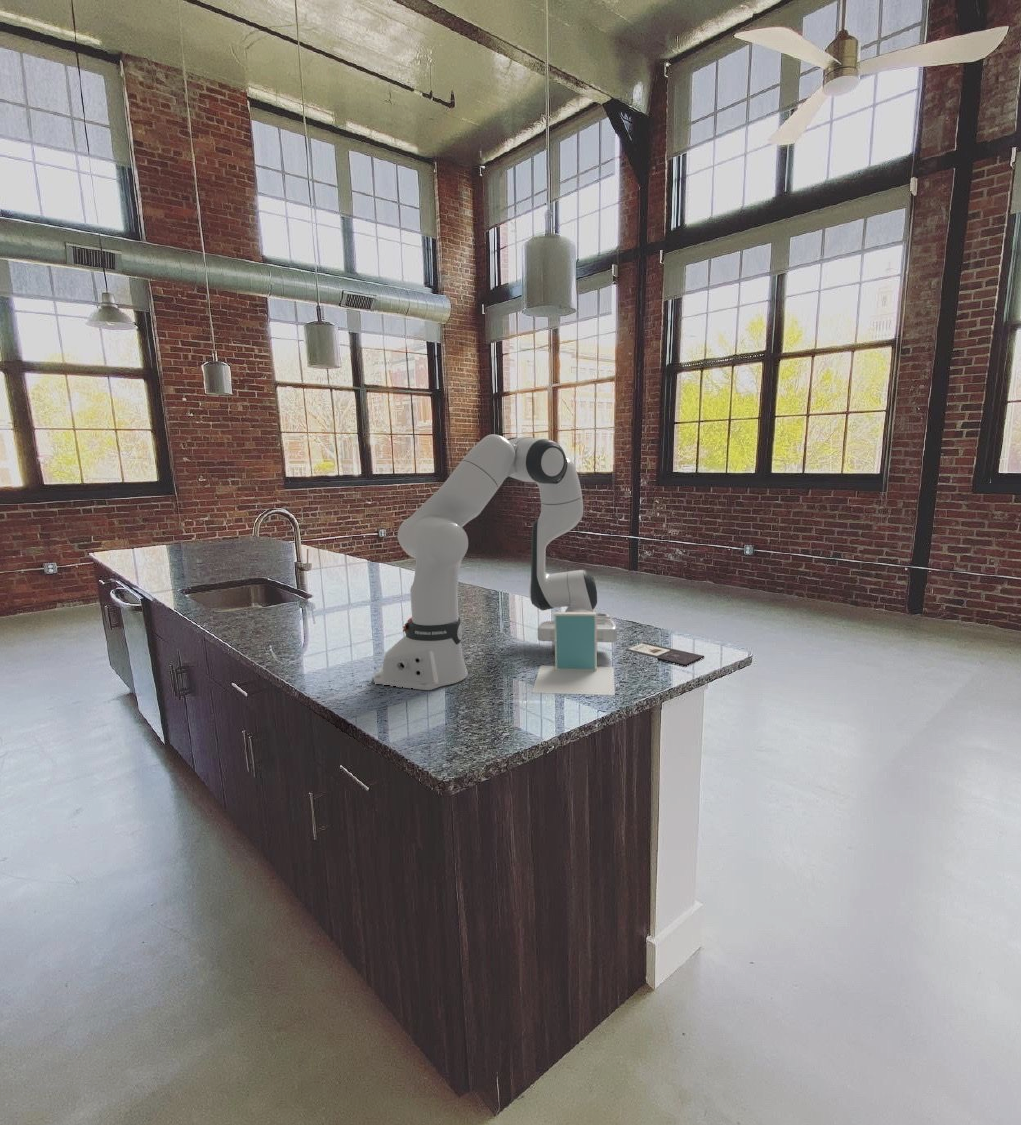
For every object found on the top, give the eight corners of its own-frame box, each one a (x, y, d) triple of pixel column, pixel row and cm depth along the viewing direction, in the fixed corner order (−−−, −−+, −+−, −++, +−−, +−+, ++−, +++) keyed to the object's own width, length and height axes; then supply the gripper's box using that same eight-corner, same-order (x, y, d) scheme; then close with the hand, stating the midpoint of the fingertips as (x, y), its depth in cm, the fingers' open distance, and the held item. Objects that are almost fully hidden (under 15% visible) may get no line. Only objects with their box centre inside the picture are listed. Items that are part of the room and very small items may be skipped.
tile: (555, 670, 145) (554, 614, 143) (556, 667, 147) (554, 612, 145) (596, 671, 144) (596, 614, 141) (597, 668, 146) (596, 612, 144)
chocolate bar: (685, 664, 146) (624, 650, 159) (685, 668, 146) (624, 653, 159) (704, 655, 152) (644, 642, 165) (704, 659, 152) (644, 645, 165)
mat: (531, 694, 132) (531, 692, 131) (540, 667, 149) (540, 665, 149) (614, 697, 129) (614, 695, 129) (613, 669, 146) (613, 667, 146)
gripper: (539, 614, 162) (533, 627, 148) (616, 614, 158) (617, 628, 145) (539, 636, 163) (534, 652, 149) (616, 637, 159) (617, 653, 146)
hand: (575, 640), depth 147 cm, fingers closed
